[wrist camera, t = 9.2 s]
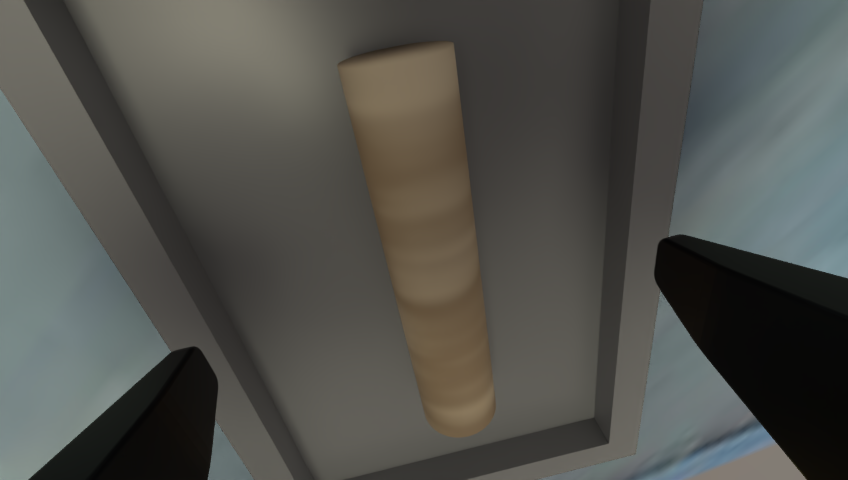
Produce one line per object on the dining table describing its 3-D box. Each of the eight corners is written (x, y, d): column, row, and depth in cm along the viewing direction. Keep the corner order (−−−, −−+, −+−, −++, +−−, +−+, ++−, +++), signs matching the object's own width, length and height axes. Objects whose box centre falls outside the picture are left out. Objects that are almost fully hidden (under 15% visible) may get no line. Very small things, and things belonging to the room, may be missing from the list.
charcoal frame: (610, 413, 19) (635, 454, 18) (299, 490, 19) (294, 541, 17) (665, -199, 9) (739, -243, 7) (-23, -77, 8) (-119, -94, 7)
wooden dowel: (506, 424, 14) (624, 184, 6) (441, 457, 14) (465, 244, 5) (426, 279, 18) (425, -3, 9) (372, 300, 17) (317, 19, 9)
